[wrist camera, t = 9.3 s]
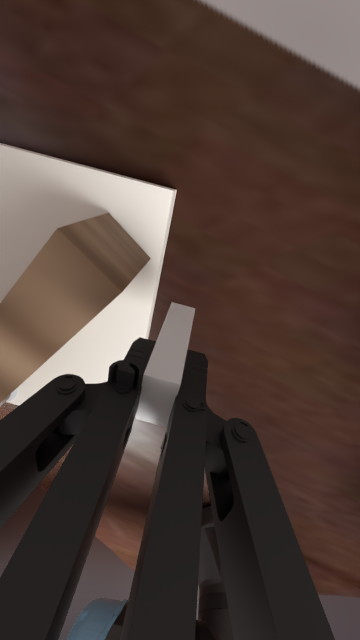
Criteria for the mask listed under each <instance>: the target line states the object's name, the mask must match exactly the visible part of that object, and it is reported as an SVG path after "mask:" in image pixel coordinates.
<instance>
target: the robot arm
mask: <svg viewBox="0 0 360 640" xmlns="http://www.w3.org/2000/svg"><path fill="white" fill-rule="evenodd" d="M194 312H195V308H192V307H188V306H184V305H180V304H177V303H173V302H172V303H171V305H170V308H169V311H168V313H167V316H166V318H165V321H164V323H163V326H162V329H161V331H160V334H159V336H158V339H157V341H152V340H148V339H144V338H141V337H139V338H138V339H137V340H135V341H134V342H133V343H132V345H131V347H130V349H129V350H128V352H127V355H126V356H125V358H124V360H119V361H116V362H114V363H112V364H111V365H110V367H109V373H108V381H107V382H103V383H97V384H85V382H84V380H83V379H82V378H81V377H80V376H77V375H74V374H64V375H60V376H58V377H56V378H54V379H53V380H51V381H50V382H49V383H48V384H46V385H45V386H44V387H42V388H41V389H40V390H39V391H37V392H36V393H35V394H33V395H32V396H31V397H30V398H28V399H27V400H26V401H25V402H23V403H22V404H21V405H19V406H18V407H17V408H16V409H14V410H13V411H12V412H10V413H9V414H8V415H7V416H5V417H4V418H3V419H1V420H0V528H1V527H2V526H3V524H5V522H6V521H7V520H8V519H9V518H10V517H11V515H12V514H13V513H14V512H15V511H16V510H17V509H18V507H19V506H20V505H21V504H22V503H23V502H24V500H25V499H26V498H27V497H28V496H29V495H30V493H31V492H32V491H33V490H34V489H35V488H36V487H37V485H38V484H39V483H40V482H41V481H42V480H43V478H44V477H45V476H46V475H47V474H48V473H49V471H50V470H51V469H52V468H53V467H54V466H55V465H56V463H57V462H58V461H59V460H60V459H61V458H62V456H63V455H64V454H65V453H66V452H67V451H68V449H69V448H70V447H71V446H72V445H73V446H72V448H71V450H70V451H69V453H68V455H67V457H66V459H65V461H64V462H63V464H62V466H61V468H60V470H59V472H58V473H57V475H56V477H55V479H54V481H53V483H52V484H51V486H50V488H49V490H48V492H47V493H46V496H45V497H44V499H43V501H42V503H41V504H40V506H39V508H38V510H37V512H36V514H35V516H34V517H33V519H32V521H31V523H30V525H29V526H28V528H27V530H26V532H25V534H24V535H23V537H22V539H21V541H20V543H19V545H18V546H17V548H16V550H15V552H14V554H13V556H12V557H11V559H10V561H9V563H8V565H7V566H6V568H5V570H4V572H3V574H2V576H1V577H0V640H58V639H59V636H60V633H61V630H62V627H63V625H64V621H65V619H66V616H67V613H68V610H69V607H70V605H71V601H72V599H73V596H74V593H75V590H76V587H77V584H78V581H79V579H80V576H81V573H82V570H83V567H84V564H85V562H86V558H87V556H88V553H89V550H90V547H91V544H92V541H93V538H94V536H95V533H96V530H97V527H98V524H99V521H100V519H101V516H102V513H103V510H104V507H105V504H106V501H107V498H108V496H109V493H110V490H111V487H112V484H113V481H114V478H115V476H116V473H117V470H118V467H119V464H120V461H121V458H122V455H123V453H124V450H125V447H126V444H127V441H128V438H129V435H130V433H131V429H132V424H133V421H134V418H135V419H138V420H142V421H146V422H149V423H153V424H157V425H160V426H164V427H167V430H166V434H165V437H164V440H163V443H162V446H161V454H160V459H159V463H158V468H157V472H156V477H155V481H154V486H153V491H152V495H151V500H150V504H149V509H148V513H147V518H146V523H145V527H144V532H143V536H142V541H141V545H140V550H139V554H138V559H137V564H136V568H135V573H134V577H133V582H132V586H131V592H130V596H129V600H123V601H119V600H112V599H107V598H96V599H94V600H92V601H91V602H90V603H88V604H87V606H86V607H85V608H84V609H83V610H82V612H81V613H80V615H79V617H78V618H77V620H76V622H75V624H74V625H73V627H72V629H71V631H70V633H69V635H68V637H67V639H66V640H335V639H334V636H333V634H332V631H331V628H330V625H329V623H328V620H327V618H326V615H325V613H324V610H323V607H322V604H321V602H320V600H319V597H318V594H317V591H316V589H315V586H314V583H313V581H312V578H311V575H310V573H309V570H308V568H307V565H306V562H305V560H304V557H303V554H302V552H301V549H300V546H299V544H298V541H297V539H296V536H295V533H294V531H293V528H292V525H291V523H290V520H289V517H288V515H287V512H286V510H285V507H284V504H283V502H282V499H281V496H280V494H279V491H278V489H277V486H276V483H275V481H274V478H273V475H272V473H271V470H270V467H269V465H268V462H267V460H266V457H265V454H264V452H263V449H262V446H261V444H260V441H259V438H258V436H257V433H256V432H255V430H254V428H253V427H252V426H251V425H250V424H249V423H248V422H246V421H244V420H242V419H239V418H231V419H229V420H228V421H226V420H224V419H222V418H220V417H219V416H217V415H216V414H214V413H213V412H212V411H211V410H210V409H209V407H208V406H207V403H206V383H207V368H208V360H207V358H206V356H205V354H202V353H199V352H195V351H191V350H188V343H189V338H190V333H191V328H192V323H193V317H194ZM204 468H205V472H206V478H207V484H208V490H209V496H210V502H211V506H208V507H205V508H203V509H202V503H203V485H204ZM198 585H199V609H198V620H196V608H197V590H198Z"/></svg>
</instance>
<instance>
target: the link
mask: <svg viewBox="0 0 360 640" xmlns="http://www.w3.org/2000/svg"><path fill="white" fill-rule="evenodd" d="M150 259H151V258H150V257H149V256H148V255H147V254H146V253H145V252H144V250H143V249H142V248H141V247H140V246H139V245H138V244H137V243H136V242H135V241H134V240H133V238H132V237H131V236H130V235H129V234H128V233H127V232H126V231H125V230H124V229H123V228H122V227H121V225H120V224H119V223H118V222H117V221H116V220H115V219H114V218H113V217H112V216H111V215H110V213H109V212H108V213H105V214H102V215H99V216H95V217H92V218H89V219H86V220H82V221H79V222H76V223H73V224H69V225H66V226H63V227H60V228H57V229H56V230H55V232H54V233H53V234H52V236H51V237H50V238H49V240H48V241H47V242H46V244H45V245H44V246H43V247H42V249H41V250H40V251H39V253H38V254H37V255H36V257H35V258H34V259H33V261H32V262H31V263H30V265H29V266H28V267H27V269H26V270H25V271H24V272H23V274H22V275H21V276H20V278H19V279H18V280H17V282H16V283H15V284H14V286H13V287H12V288H11V290H10V291H9V292H8V293H7V295H6V296H5V297H4V299H3V300H2V301H1V303H0V407H1V406H2V405H3V404H4V403H5V402H6V401H7V400H8V399H9V397H10V396H11V393H12V392H13V391H14V390H15V389H16V388H18V387H19V386H20V385H21V384H22V383H23V382H24V381H25V380H26V379H27V378H29V377H30V376H31V375H32V374H33V373H34V372H35V371H36V370H37V369H38V368H40V367H41V366H42V365H43V364H44V363H45V362H46V361H47V360H48V359H49V358H50V357H52V356H53V355H54V354H55V353H56V352H57V351H58V350H59V349H60V348H61V347H63V346H64V345H65V344H66V343H67V342H68V341H69V340H70V339H71V338H72V337H74V336H75V335H76V334H77V333H78V332H79V331H80V330H81V329H82V328H83V327H84V326H86V325H87V324H88V323H89V322H90V321H91V320H92V319H93V318H94V317H95V316H97V315H98V314H99V313H100V312H101V311H102V310H103V309H104V308H105V307H106V306H107V305H109V304H110V303H111V302H112V301H113V300H114V299H115V298H116V297H117V296H118V295H120V294H121V293H122V292H123V291H124V289H125V288H126V287H127V286H128V285H129V284H130V282H131V281H132V280H133V279H134V278H135V277H136V275H137V274H138V273H139V272H140V271H141V270H142V268H143V267H144V266H145V265H146V264H147V263H148V261H149V260H150Z"/></svg>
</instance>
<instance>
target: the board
mask: <svg viewBox="0 0 360 640" xmlns="http://www.w3.org/2000/svg"><path fill="white" fill-rule="evenodd" d="M176 192H177V190H176V189H172V188H169V187H165V186H161V185H157V184H154V183H150V182H146V181H142V180H138V179H135V178H131V177H127V176H123V175H120V174H116V173H112V172H108V171H105V170H101V169H97V168H93V167H89V166H86V165H82V164H78V163H74V162H71V161H67V160H63V159H59V158H56V157H52V156H48V155H44V154H40V153H37V152H33V151H29V150H25V149H22V148H18V147H14V146H10V145H7V144H3V143H0V303H1V301H2V300H3V299H4V297H5V296H6V295H7V293H8V292H9V291H10V290H11V288H12V287H13V286H14V284H15V283H16V282H17V280H18V279H19V278H20V276H21V275H22V274H23V272H24V271H25V270H26V269H27V267H28V266H29V265H30V263H31V262H32V261H33V259H34V258H35V257H36V255H37V254H38V253H39V251H40V250H41V249H42V247H43V246H44V245H45V244H46V242H47V241H48V240H49V238H50V237H51V236H52V234H53V233H54V232H55V230H56V229H57V228H60V227H63V226H66V225H69V224H73V223H76V222H79V221H82V220H86V219H89V218H92V217H95V216H99V215H102V214H105V213H108V212H109V213H110V215H111V216H112V217H113V218H114V219H115V220H116V221H117V222H118V223H119V224H120V225H121V227H122V228H123V229H124V230H125V231H126V232H127V233H128V234H129V235H130V236H131V237H132V238H133V240H134V241H135V242H136V243H137V244H138V245H139V246H140V247H141V248H142V249H143V250H144V252H145V253H146V254H147V255H148V256H149V257H150V258H151V259H150V260H149V261H148V263H147V264H146V265H145V266H144V267H143V268H142V270H141V271H140V272H139V273H138V274H137V275H136V277H135V278H134V279H133V280H132V281H131V282H130V284H129V285H128V286H127V287H126V288H125V289H124V291H123V292H122V293H121V294H120V295H118V296H117V297H116V298H115V299H114V300H113V301H112V302H111V303H110V304H109V305H107V306H106V307H105V308H104V309H103V310H102V311H101V312H100V313H99V314H98V315H97V316H95V317H94V318H93V319H92V320H91V321H90V322H89V323H88V324H87V325H86V326H84V327H83V328H82V329H81V330H80V331H79V332H78V333H77V334H76V335H75V336H74V337H72V338H71V339H70V340H69V341H68V342H67V343H66V344H65V345H64V346H63V347H61V348H60V349H59V350H58V351H57V352H56V353H55V354H54V355H53V356H52V357H50V358H49V359H48V360H47V361H46V362H45V363H44V364H43V365H42V366H41V367H40V368H38V369H37V370H36V371H35V372H34V373H33V374H32V375H31V376H30V377H29V378H27V379H26V380H25V381H24V382H23V383H22V384H21V385H20V386H19V387H18V388H16V389H15V390H14V391H13V392H12V393H11V396H10V397H9V399H8V400H7V401H6V402H8V403H12V404H15V405H21V404H22V403H23V402H25V401H26V400H27V399H28V398H30V397H31V396H32V395H33V394H35V393H36V392H37V391H39V390H40V389H41V388H42V387H44V386H45V385H46V384H48V383H49V382H50V381H51V380H53V379H54V378H56V377H58V376H60V375H64V374H74V375H77V376H80V377H81V378H82V379H83V380H84V382H85V384H97V383H103V382H107V381H108V373H109V367H110V365H111V364H112V363H114V362H116V361H119V360H124V358H125V356H126V355H127V352H128V350H129V349H130V347H131V345H132V343H133V342H134V341H135V340H137V339H138V338H139V337H141V338H144V339H148V336H149V331H150V326H151V321H152V316H153V310H154V305H155V300H156V295H157V290H158V285H159V280H160V274H161V269H162V264H163V259H164V254H165V249H166V243H167V238H168V233H169V228H170V223H171V218H172V212H173V207H174V202H175V197H176Z"/></svg>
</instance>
